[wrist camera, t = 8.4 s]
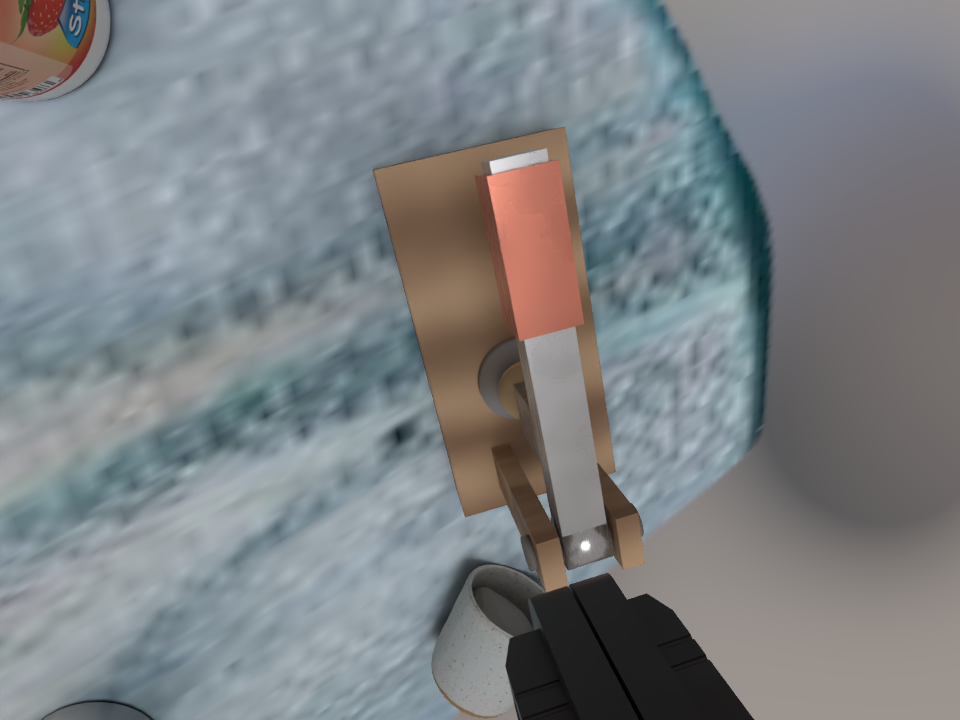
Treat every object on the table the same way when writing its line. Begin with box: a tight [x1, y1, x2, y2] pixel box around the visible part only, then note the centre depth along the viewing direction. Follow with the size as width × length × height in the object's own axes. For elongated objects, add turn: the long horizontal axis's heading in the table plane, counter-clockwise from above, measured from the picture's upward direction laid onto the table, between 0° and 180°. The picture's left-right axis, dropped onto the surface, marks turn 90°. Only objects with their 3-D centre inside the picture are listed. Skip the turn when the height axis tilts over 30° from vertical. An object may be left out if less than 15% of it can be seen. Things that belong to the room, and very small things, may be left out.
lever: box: [475, 148, 614, 570], centre depth 29 cm, size 21×3×6 cm, turn 12°
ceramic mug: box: [432, 564, 546, 718], centre depth 43 cm, size 11×8×8 cm
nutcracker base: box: [373, 127, 645, 592], centre depth 33 cm, size 23×11×14 cm, turn 12°
